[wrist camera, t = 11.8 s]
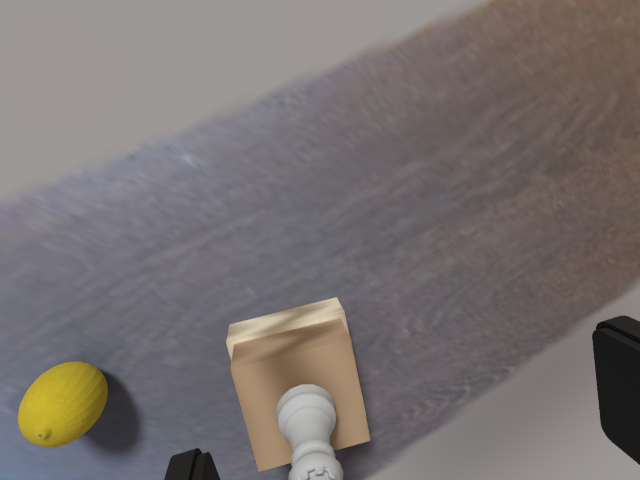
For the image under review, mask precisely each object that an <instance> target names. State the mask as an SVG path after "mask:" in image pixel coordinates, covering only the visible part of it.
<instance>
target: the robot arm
mask: <svg viewBox="0 0 640 480" xmlns="http://www.w3.org/2000/svg"><path fill="white" fill-rule="evenodd" d="M592 339H593V348H594V359H595V369H596V380H597V390H598V400H599V410H600V420H601V426H602V429H603V431H604V432H605V434H606V436H607V437H608V438H609V439H610V440H611V441H612V442H613V443H614V444H615V445H616V446H618V447H619V448H620V449H621V450H622V451H624V452H625V453H626V454H627V455H628V456H630V457H631V458H632V459H633V460H635V461H636V462H637V463H638V464H639V465H640V322H639V321H637V320H635V319H632V318H630V317H628V316H618V317H615V318H612V319H609V320H606V321H602V322H600V323H598V324H597V326H596V331H594V332H593V335H592ZM164 480H220V478H219V475H218V472H217V470H216V467H215V464H214V462H213V459H212V456H211V454H210V453H209V452H207V453H204V454H202V452H201V450H200V449H199V448H196V449H193V450H190V451H187V452H183V453H180V454H177V455H174V456H172V457H171V459H170V462H169V465H168V469H167V472H166V475H165V479H164Z"/></svg>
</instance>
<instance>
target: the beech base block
mask: <svg viewBox="0 0 640 480" xmlns="http://www.w3.org/2000/svg"><path fill="white" fill-rule="evenodd" d="M338 318H341V320H342V322H343V324H344V326H345V328H346V330H347V332H348V334H349V331H348V326H347V322H346V317H345V312H344V310H343V309H342V307H341V305H340V303H339V301H338V299H337V297H336V298H332V299H328V300H324V301H321V302H317V303H313V304H309V305H305V306H301V307H297V308H293V309H289V310H285V311H281V312H277V313H274V314H270V315H266V316H262V317H258V318H254V319H250V320H246V321H242V322H238V323H234V324H231V325H229V330H228V335H227V341H226V344H227V348H228V351H229V354H230V358H231V361H232V354H233V347H234V344H236V343H240V342H244V341H248V340H252V339H256V338H260V337H265V336H269V335H273V334H277V333H281V332H285V331H289V330H293V329H297V328H301V327H305V326H309V325H313V324H317V323H321V322H325V321H329V320H334V319H338ZM361 394H362V392H361ZM362 399H363V397H362ZM363 404H364V402H363ZM364 409H365V407H364ZM365 414H366V411H365Z"/></svg>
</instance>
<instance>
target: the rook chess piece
mask: <svg viewBox="0 0 640 480" xmlns="http://www.w3.org/2000/svg"><path fill="white" fill-rule="evenodd" d="M276 418H277V425H278V427H279V430H280V432H281V434H282V436H283V438H285V439H286V440H287V442H289V443H290V444H291V447H292V450H293V454H292V456H291V466H292V469H291V471H290V473H289V480H343V470H342V467H341V465H340V463H339V462H338V461H337V460H336V459H335V452H334V450H333V448H332V447H331V446H330V435H331V433H332V431H333V429H334V427H335V423H336V411H335V404H334V401H333V398H332V396H331V395H330V394H329V393H328V392H327V391H326V390H325V389H324V388H322V387H319V386H316V385H314V384H304V385H299V386H296V387H294V388H291V389H290V390H288V391H287V392H286V393H285V394H284V395H283V396H282V397H281V399H280V401H279V403H278V405H277V408H276Z"/></svg>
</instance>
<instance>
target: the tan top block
mask: <svg viewBox="0 0 640 480" xmlns="http://www.w3.org/2000/svg"><path fill="white" fill-rule="evenodd" d="M231 372H232V376H233V380H234V383H235V387H236V391H237V394H238V398H239V401H240V405H241V409H242V412H243V416H244V420H245V423H246V427H247V431H248V434H249V438H250V441H251V445H252V449H253V452H254V456H255V460H256V463H257V467H258V470H259V472H260V471H264V470H267V469H271V468H274V467H278V466H282V465H285V464H289V463H291V456H292V454H293V450H292V447H291V444H290V443H289V442H287V440H286V439H285V438H283V436H282V434H281V432H280V430H279V427H278V425H277V418H276V408H277V405H278V403H279V401H280V399H281V397H282V396H283V395H284V394H285V393H286V392H287V391H288V390H290V389H291V388H294V387H296V386H299V385H304V384H314V385H316V386H319V387H322V388H324V389H325V390H326V391H327V392H328V393H329V394H330V395H331V396H332V398H333V401H334V404H335V411H336V423H335V427H334V429H333V431H332V433H331V435H330V446H331V447H332V448H333V450H334V451H335V450H339V449H343V448H346V447H350V446H353V445H357V444H360V443H364V442H368V441H371V440H370V435H369V429H368V424H367V419H366V414H365V409H364V404H363V399H362V394H361V388H360V383H359V378H358V373H357V368H356V363H355V358H354V353H353V347H352V342H351V338H350V336H349V334H348V332H347V330H346V328H345V326H344V324H343V322H342V320H341V318H338V319H334V320H329V321H325V322H321V323H317V324H313V325H309V326H305V327H301V328H297V329H293V330H289V331H285V332H281V333H277V334H273V335H269V336H265V337H260V338H256V339H252V340H248V341H244V342H240V343H236V344H234V347H233V354H232V362H231Z"/></svg>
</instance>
